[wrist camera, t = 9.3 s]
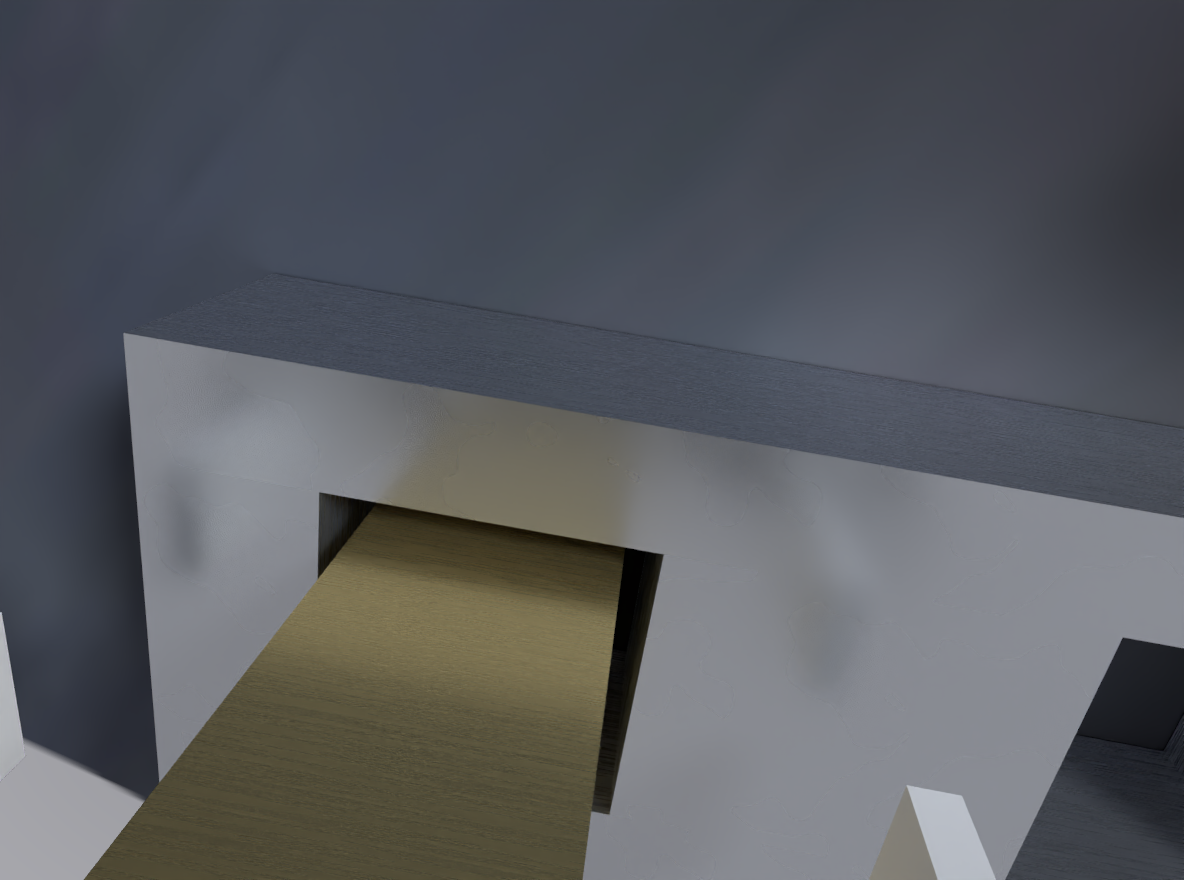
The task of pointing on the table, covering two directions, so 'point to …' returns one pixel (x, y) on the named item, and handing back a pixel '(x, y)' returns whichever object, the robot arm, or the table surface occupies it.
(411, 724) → the gold square peg
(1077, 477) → the white peg board
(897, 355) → the table surface
